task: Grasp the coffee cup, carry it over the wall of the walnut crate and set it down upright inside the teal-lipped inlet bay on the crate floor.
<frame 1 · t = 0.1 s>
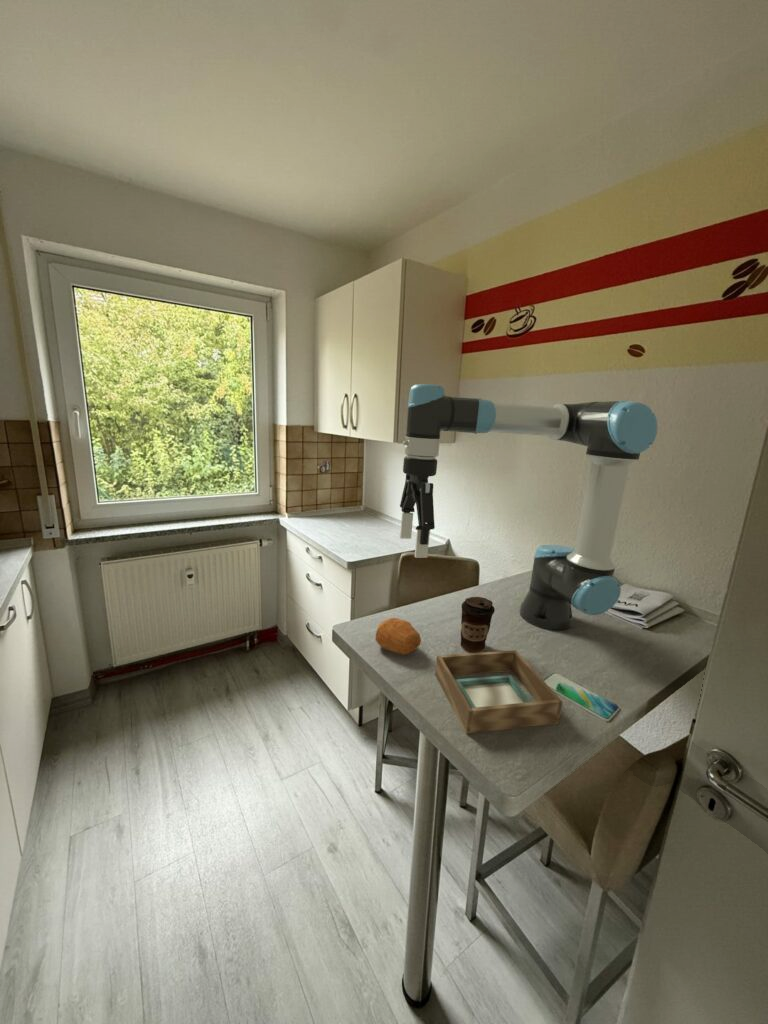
hand: (412, 547, 96), 28 cm above the table, fingers open, 13 cm apart
coffee cup: (472, 647, 107), on the table
smartphone: (578, 697, 91), on the table
crate: (492, 697, 88), on the table
potato: (398, 650, 104), on the table
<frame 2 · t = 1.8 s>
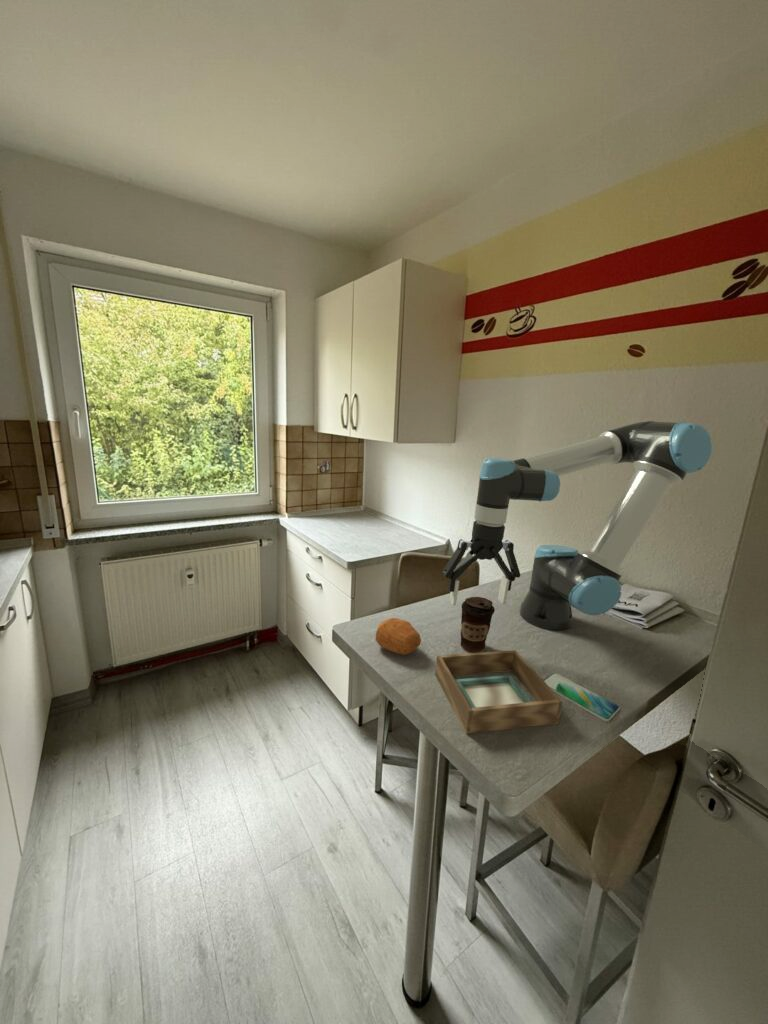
hand: (477, 602, 104), 13 cm above the table, fingers open, 13 cm apart
nothing on the table moved.
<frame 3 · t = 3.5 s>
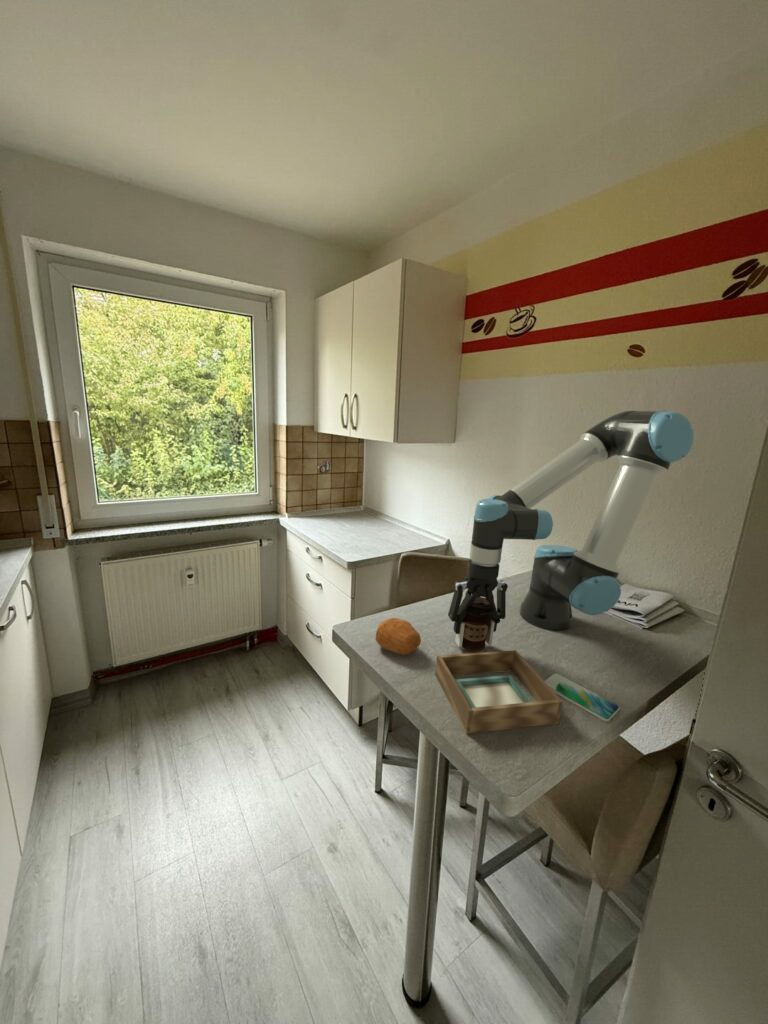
hand: (473, 642, 107), 1 cm above the table, fingers closed on coffee cup, 8 cm apart
coffee cup: (472, 647, 107), on the table, touching gripper
everything else where it was.
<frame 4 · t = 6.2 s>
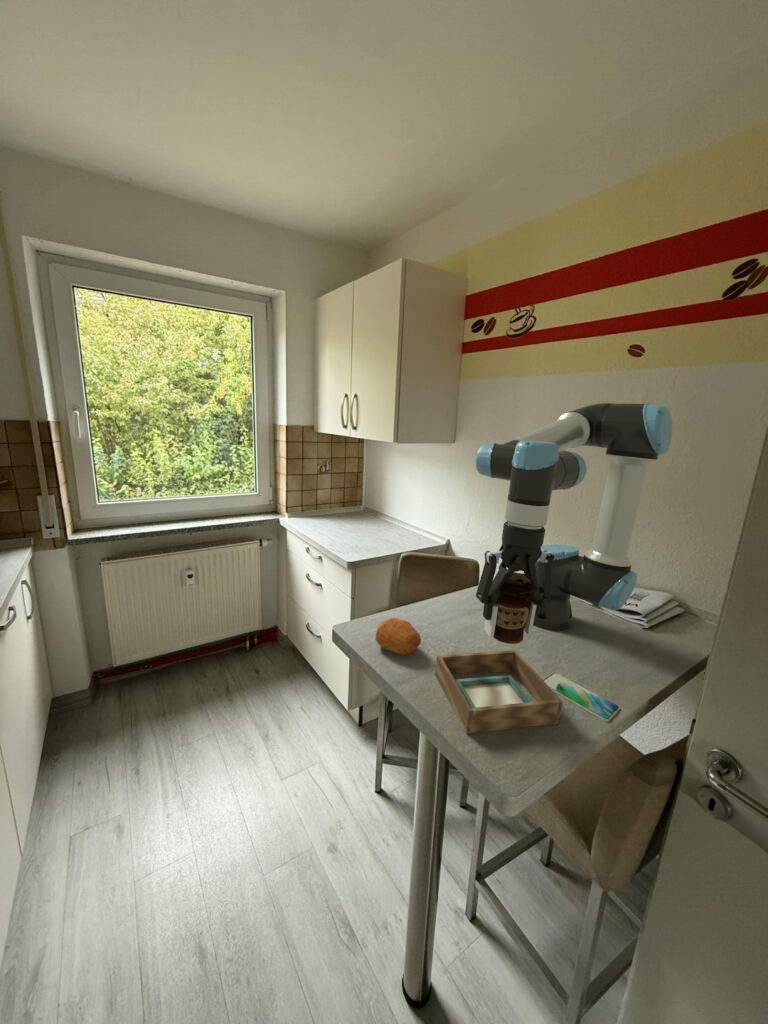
hand: (507, 632, 82), 17 cm above the table, fingers closed on coffee cup, 8 cm apart
coffee cup: (506, 638, 83), point 15 cm above the table, touching gripper
everything else where it was.
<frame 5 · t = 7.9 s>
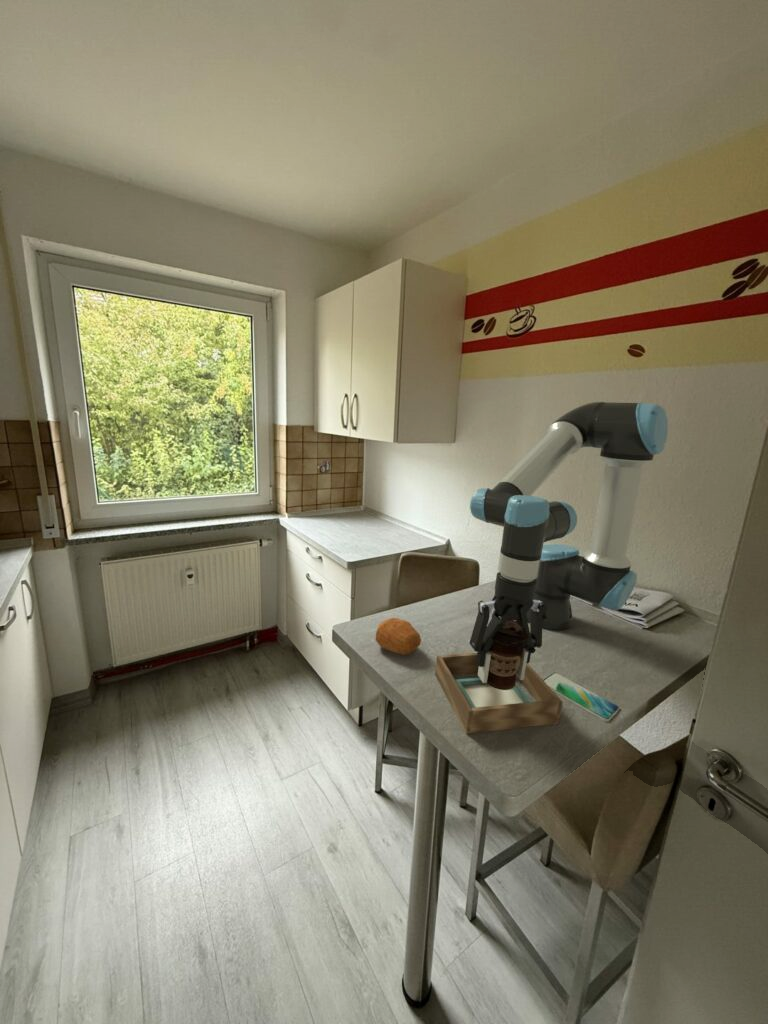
hand: (500, 677, 85), 6 cm above the table, fingers closed on coffee cup, 8 cm apart
coffee cup: (499, 682, 85), point 5 cm above the table, touching gripper
everything else where it was.
when the fingers open (4 cm above the table, at t = 8.9 s): coffee cup drops 2 cm, resting on crate.
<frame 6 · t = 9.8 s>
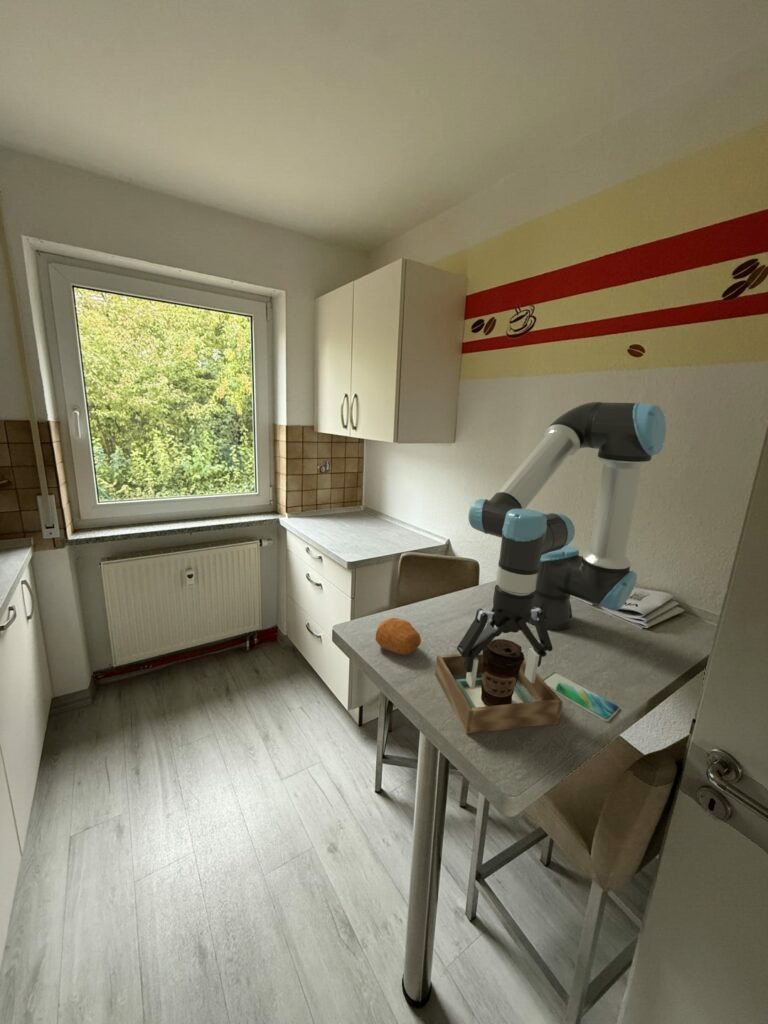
hand: (500, 681, 85), 5 cm above the table, fingers open, 13 cm apart
coffee cup: (496, 702, 86), resting on crate
everything else where it was.
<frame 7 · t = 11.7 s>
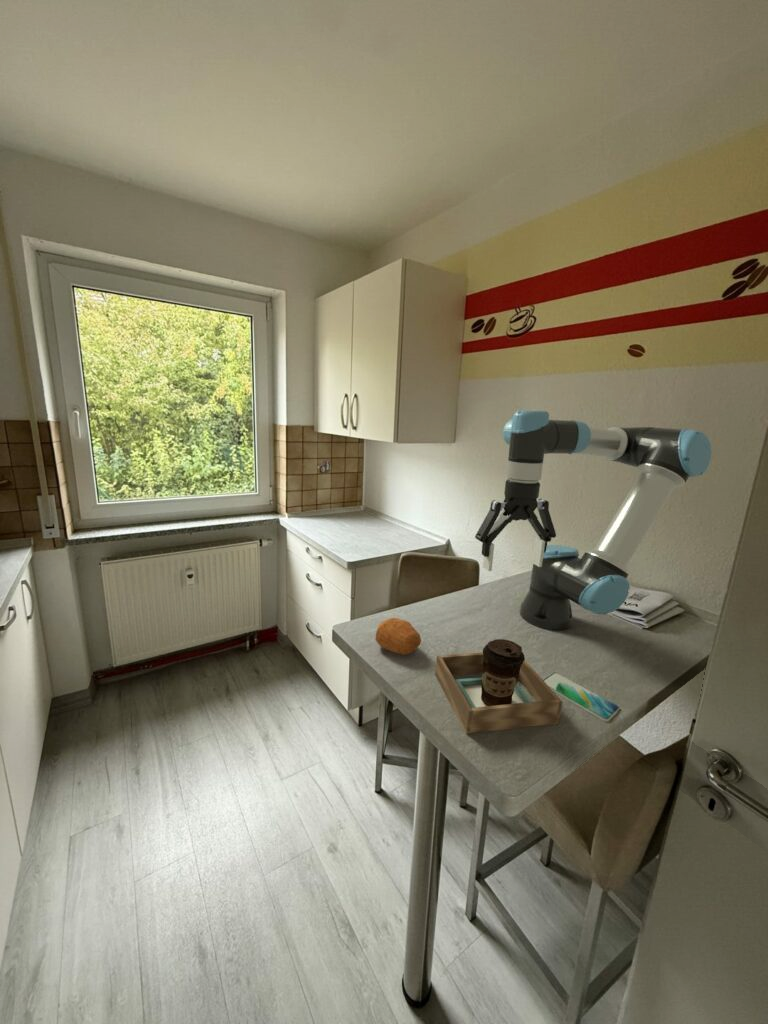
hand: (512, 567, 98), 24 cm above the table, fingers open, 13 cm apart
nothing on the table moved.
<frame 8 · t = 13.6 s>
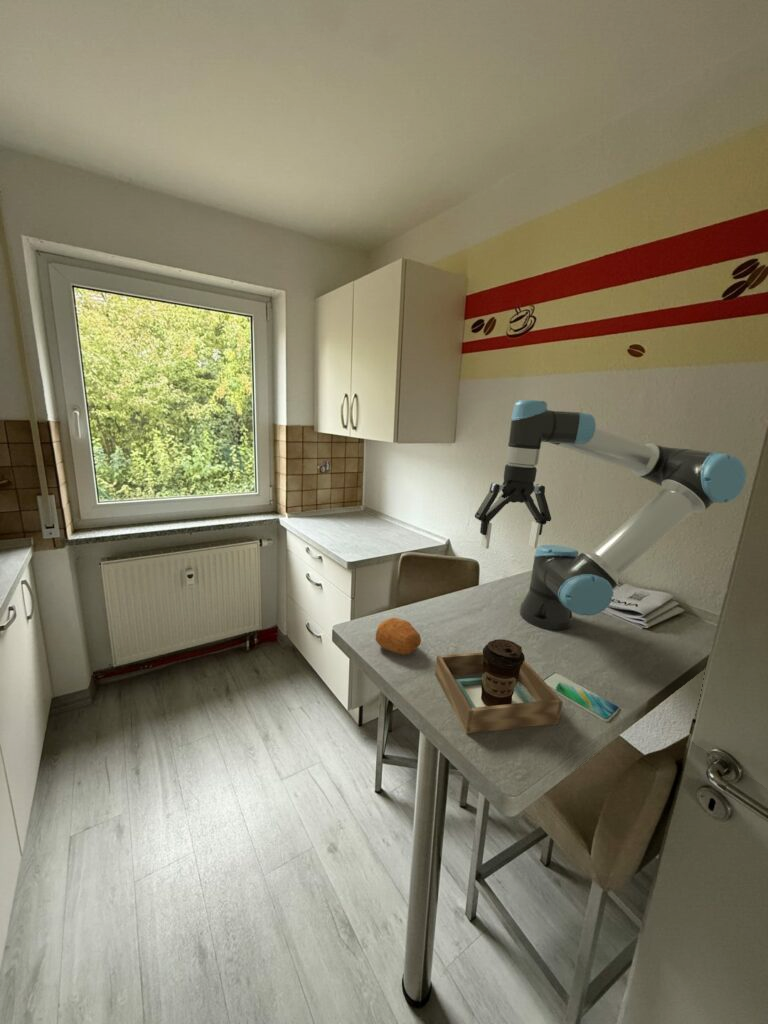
hand: (508, 546, 105), 27 cm above the table, fingers open, 13 cm apart
nothing on the table moved.
at the end: coffee cup inside the target area on the crate (0.2 cm from its centre), point 0.1 cm above the crate's base; coffee cup tilted 0°; the gripper is holding nothing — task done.
